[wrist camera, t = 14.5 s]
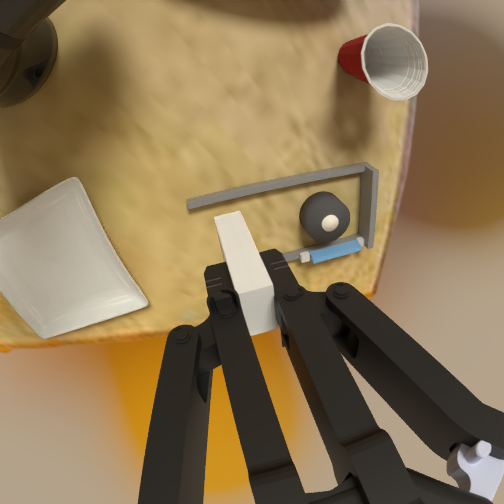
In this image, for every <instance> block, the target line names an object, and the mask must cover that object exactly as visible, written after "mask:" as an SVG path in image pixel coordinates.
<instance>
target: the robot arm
mask: <svg viewBox="0 0 504 504" xmlns="http://www.w3.org/2000/svg"><path fill="white" fill-rule="evenodd" d="M65 1H66V0H0V107H8V106H12V105H15V104H17V103H20V102H22V101H24V100H26V99H28V98H29V97H31V96H32V95H33V94H34V93H35V92H37V91H38V90H39V88H40V87H41V86H42V85H43V84H44V82H45V81H46V79H47V78H48V76H49V74H50V72H51V70H52V68H53V65H54V62H55V59H56V54H57V34H56V30H55V27H54V25H53V23H52V22H51V20H50V19H49V18H48V16H49V15H50V14H52V13H53V12H54V11H55V10H56V9H57V8H58V7H59V6H60V5H61V4H63V3H64V2H65ZM214 220H215V224H216V228H217V233H218V237H219V241H220V246H221V250H222V254H223V258H224V262H223V263H219V264H215V265H211V266H207V267H206V270H205V272H204V277H205V282H206V287H207V293H208V297H207V306H208V309H209V312H210V315H209V317H208V318H207V319H206V320H205V321H204V322H203V323H201V324H200V325H198V326H196V327H193V326H191V325H180V326H177V327H176V328H174V329H173V330H172V331H171V332H170V333H169V335H168V337H167V341H166V346H165V350H164V355H163V360H162V364H161V369H160V374H159V379H158V384H157V389H156V394H155V399H154V405H153V410H152V415H151V421H150V426H149V432H148V438H147V444H146V450H145V456H144V463H143V470H142V477H141V483H140V491H139V499H138V504H203V496H204V480H205V465H206V451H207V436H208V424H209V412H210V398H211V388H212V376H213V369H214V368H216V367H218V366H220V365H222V369H223V374H224V377H225V382H226V386H227V391H228V395H229V399H230V403H231V407H232V411H233V415H234V419H235V423H236V427H237V431H238V435H239V439H240V443H241V447H242V450H243V454H244V457H245V462H246V465H247V469H248V475H249V482H250V486H251V489H252V493H253V496H254V499H255V503H256V504H493V503H492V502H491V501H492V499H493V497H494V495H495V493H496V490H497V488H498V486H499V484H500V482H501V479H502V477H503V474H504V413H503V412H501V411H498V410H496V409H494V408H492V407H490V406H487V405H485V404H483V403H482V402H481V401H479V399H477V398H476V397H475V396H474V395H473V394H472V393H471V392H470V391H469V390H468V389H467V388H466V387H465V386H464V385H463V384H462V383H461V382H460V381H458V380H457V379H456V378H455V377H454V376H453V375H452V374H451V373H450V372H449V371H448V370H447V369H446V368H444V366H442V365H441V364H440V363H439V362H438V361H437V360H436V359H435V358H434V357H433V356H432V355H430V354H429V353H428V352H427V351H426V350H425V349H424V348H423V347H422V346H421V345H419V344H418V343H417V342H416V341H415V340H414V339H413V338H412V337H410V336H409V335H408V334H407V333H406V332H405V331H404V330H403V329H402V328H400V327H399V326H398V325H397V324H396V323H395V322H394V321H393V320H391V319H390V318H389V317H388V316H387V315H386V314H384V313H383V312H382V311H381V310H380V309H379V308H378V307H377V306H375V305H374V304H373V303H372V302H371V301H370V300H368V299H367V298H366V297H365V296H364V295H363V294H361V293H360V292H359V291H358V290H357V289H356V288H354V287H353V286H352V285H350V284H348V283H344V282H337V283H334V284H331V285H330V286H329V287H328V288H327V290H326V292H311V291H307V290H306V289H305V288H304V287H302V286H300V285H299V284H298V282H297V280H296V278H295V276H294V275H293V273H292V271H291V269H290V267H289V266H288V264H287V262H286V260H285V258H284V256H283V254H282V253H281V252H279V251H278V250H276V249H271V250H267V251H263V252H258V250H257V248H256V246H255V243H254V241H253V239H252V237H251V235H250V232H249V230H248V228H247V226H246V223H245V221H244V219H243V217H242V215H241V212H240V211H237V212H233V213H228V214H224V215H220V216H216V217H214ZM278 325H279V327H280V329H281V337H282V346H283V347H284V346H285V347H286V350H287V352H288V355H289V357H290V360H291V362H292V365H293V367H294V370H295V372H296V374H297V377H298V380H299V382H300V385H301V387H302V390H303V392H304V395H305V397H306V400H307V402H308V405H309V407H310V409H311V412H312V415H313V417H314V420H315V422H316V425H317V427H318V430H319V432H320V435H321V437H322V440H323V442H324V444H325V447H326V450H327V452H328V454H329V457H330V459H331V462H332V465H333V470H334V475H335V477H336V480H337V483H338V486H337V487H335V488H334V489H333V490H330V491H325V492H315V493H305V492H304V489H303V487H302V484H301V481H300V478H299V475H298V473H297V470H296V467H295V465H294V463H293V461H292V459H291V456H290V453H289V450H288V447H287V445H286V442H285V439H284V436H283V433H282V430H281V427H280V424H279V421H278V418H277V415H276V413H275V409H274V406H273V403H272V401H271V397H270V394H269V392H268V389H267V385H266V382H265V379H264V376H263V373H262V370H261V367H260V364H259V361H258V358H257V355H256V352H255V349H254V345H253V343H252V339H251V336H252V335H256V334H259V333H263V332H267V331H270V330H274V329H277V328H278ZM341 354H342V355H343V356H344V357H345V358H346V359H347V360H348V361H349V363H350V364H351V365H352V366H353V367H354V368H355V369H356V370H357V371H358V372H359V373H360V374H361V376H362V377H363V378H364V379H365V380H366V381H367V382H368V383H369V384H370V385H371V386H372V387H373V388H374V390H375V391H376V392H377V393H378V394H379V395H380V396H381V397H382V398H383V399H384V400H385V401H386V402H387V403H388V405H389V406H390V407H391V408H392V409H393V410H394V411H395V412H396V413H397V414H398V415H399V416H400V417H401V419H403V421H404V422H405V423H406V424H407V425H408V426H409V427H410V428H411V429H412V430H413V431H414V432H415V434H416V435H417V436H418V437H419V438H420V439H421V440H422V441H423V442H424V443H425V444H426V445H427V446H428V447H429V448H430V449H431V450H432V451H433V452H435V453H436V454H437V455H439V456H440V457H441V458H443V459H445V460H446V461H447V473H448V475H449V476H451V477H452V478H453V479H454V480H456V482H457V484H458V486H459V488H457V487H454V486H451V485H449V484H446V483H444V482H441V481H439V480H436V479H434V478H431V477H429V476H426V475H424V474H422V473H419V472H417V471H414V470H412V469H410V468H406V467H405V465H404V463H403V461H402V459H401V457H400V455H399V453H398V451H397V449H396V447H395V445H394V443H393V441H392V439H391V437H390V436H389V434H388V433H387V432H386V431H385V430H383V429H380V428H379V427H378V425H377V423H376V421H375V419H374V417H373V415H372V414H371V411H370V410H369V407H368V406H367V404H366V402H365V400H364V398H363V396H362V394H361V392H360V390H359V388H358V386H357V384H356V382H355V380H354V378H353V376H352V375H351V372H350V371H349V369H348V367H347V365H346V363H345V362H344V359H343V357H342V355H341Z"/></svg>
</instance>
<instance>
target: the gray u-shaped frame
mask: <svg viewBox="0 0 504 504" xmlns="http://www.w3.org/2000/svg"><path fill="white" fill-rule="evenodd" d="M359 172H361V185H360V212H359V230H358V234H356V235H352V236H348V237H344V238H341V239H337V240H334V241H331V242H327V243H322V244H318V245H314V246H310V247H306V248H302V249H298V250H295V251H291V252H287V253H283V256H284V258H285V260H286V262H289V261H293V260H297V259H300V261H301V262H302V263H304V262H308V261H310V259H311V260H312V262H313V263H318V262H322V261H325V260H329V259H333V258H336V257H340V256H343V255H347V254H350V253H354V252H357V251H361V249H362V246H366V247H367V249H369V248H373V242H374V232H375V221H376V209H377V194H378V175H379V170H377V169H376V168H374V167H373V166H371V165H370V164H368V163H367V162H366V163H360V164H354V165H348V166H342V167H336V168H331V169H325V170H320V171H314V172H309V173H304V174H299V175H294V176H289V177H284V178H279V179H274V180H269V181H264V182H260V183H255V184H251V185H246V186H242V187H237V188H233V189H228V190H224V191H220V192H216V193H212V194H207V195H203V196H199V197H195V198H191V199H187V204H188V208H189V209H192V208H196V207H200V206H204V205H208V204H212V203H216V202H220V201H225V200H229V199H233V198H237V197H242V196H246V195H251V194H255V193H259V192H264V191H269V190H273V189H278V188H283V187H287V186H292V185H297V184H302V183H307V182H312V181H317V180H322V179H327V178H332V177H338V176H343V175H348V174H354V173H359Z"/></svg>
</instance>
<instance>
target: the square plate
mask: <svg viewBox="0 0 504 504" xmlns="http://www.w3.org/2000/svg"><path fill="white" fill-rule="evenodd" d="M0 292H1V293H2V294H3V296H4V297H5V298H6V300H7V301H8V302H9V303H10V304H11V306H12V307H13V308H14V309H15V310H16V312H17V313H18V314H19V315H20V316H21V318H22V319H23V320H24V321H25V322H26V323H27V324H28V325H29V327H30V328H31V329H32V330H33V331H34V332H35V333H36V334H37V335H38V336H39V337H40V338H42V339H47V338H51V337H54V336H57V335H60V334H63V333H67V332H70V331H73V330H76V329H79V328H82V327H86V326H89V325H92V324H95V323H98V322H102V321H105V320H108V319H111V318H114V317H117V316H120V315H123V314H126V313H129V312H132V311H135V310H138V309H141V308H144V307H146V306H147V305H148V300H147V298H146V297H145V295H144V294H143V292H142V291H141V289H140V288H139V286H138V285H137V284H136V282H135V281H134V279H133V278H132V277H131V275H130V274H129V272H128V271H127V269H126V268H125V266H124V264H123V263H122V261H121V260H120V258H119V256H118V255H117V253H116V251H115V250H114V248H113V246H112V244H111V242H110V241H109V239H108V237H107V235H106V233H105V231H104V229H103V227H102V225H101V223H100V221H99V219H98V217H97V214H96V212H95V210H94V208H93V206H92V204H91V202H90V199H89V197H88V195H87V193H86V191H85V189H84V187H83V185H82V183H81V181H80V180H79V179H78V178H77V177H71V178H68V179H66V180H64V181H62V182H60V183H58V184H57V185H55V186H53V187H51V188H50V189H48V190H46V191H45V192H43V193H42V194H40V195H38V196H37V197H35V198H33V199H32V200H30V201H29V202H27V203H25V204H24V205H22V206H21V207H19V208H17V209H16V210H14V211H13V212H11V213H9V214H7V215H6V216H4V217H2V218H1V219H0Z"/></svg>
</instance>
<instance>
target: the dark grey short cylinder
mask: <svg viewBox="0 0 504 504" xmlns="http://www.w3.org/2000/svg"><path fill="white" fill-rule="evenodd" d="M300 221H301V224H302V225H303V226H304V228H305V229H306V231H307V232H308V233H309V235H310V236H311V237H312V238H313V239H314V240H315V241H317V242H321V243H327V242H331V241H334V240H336V239H337V238H339V237H340V236H341V235H342V234H343V233H344V232H345V231H346V229H347V227H348V225H349V222H350V212H349V210H348V208H347V207H346V206H345V205H344V204H343V203H342V202H341V201H340V200H339V199H338V198H337V197H336V196H335V195H334V194H332V193H330V192H318V193H315V194H313V195H311V196H310V197H309V198H307V199H306V201H305V202H304V203H303V205H302V207H301V210H300Z"/></svg>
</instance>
